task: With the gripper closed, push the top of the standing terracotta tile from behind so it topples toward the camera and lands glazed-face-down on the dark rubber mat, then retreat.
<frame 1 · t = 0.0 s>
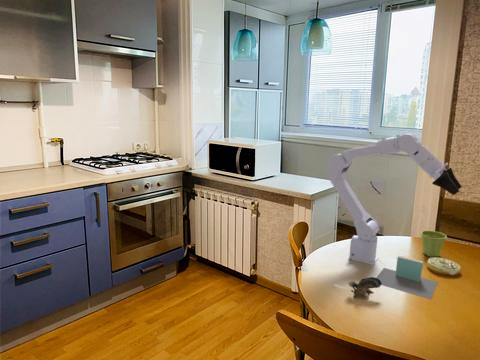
hand: (457, 190, 120), 32 cm above the table, tool tilted 50°, fingers open, 7 cm apart
decorated donut: (442, 271, 134), on the table
tile: (408, 277, 127), resting on mat
plant pot: (431, 254, 149), on the table
mat: (405, 283, 124), on the table
eagle figurine: (363, 296, 116), on the table
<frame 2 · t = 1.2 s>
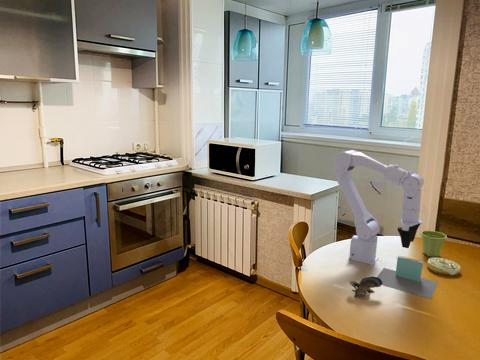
hand: (407, 244, 131), 10 cm above the table, tool pointing down, fingers open, 7 cm apart
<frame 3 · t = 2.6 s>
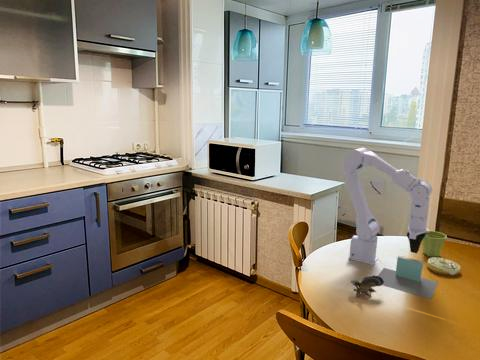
hand: (414, 252, 130), 8 cm above the table, tool pointing down, fingers closed
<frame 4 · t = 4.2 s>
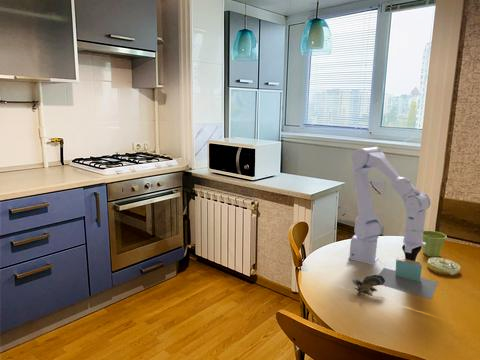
hand: (409, 265, 126), 5 cm above the table, tool pointing down, fingers closed
tile: (408, 277, 127), point 1 cm above the table, tilted 15°, touching mat
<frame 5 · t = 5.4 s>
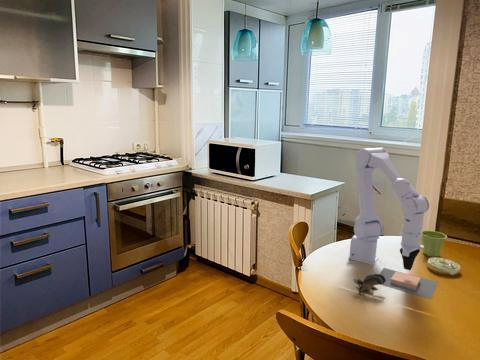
hand: (407, 268, 124), 5 cm above the table, tool pointing down, fingers closed
tile: (407, 276, 126), point 1 cm above the table, tilted 90°, touching mat
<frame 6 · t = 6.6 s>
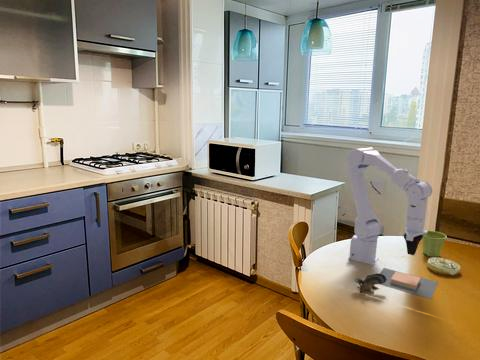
hand: (411, 254, 126), 9 cm above the table, tool pointing down, fingers closed
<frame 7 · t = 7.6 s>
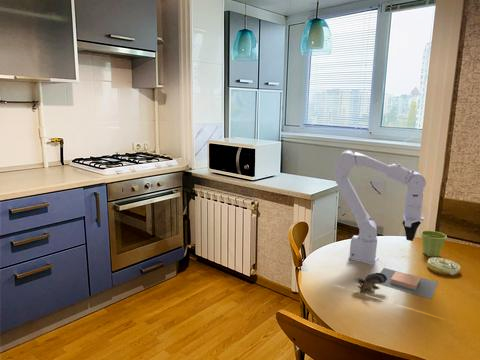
hand: (409, 240, 135), 10 cm above the table, tool pointing down, fingers closed
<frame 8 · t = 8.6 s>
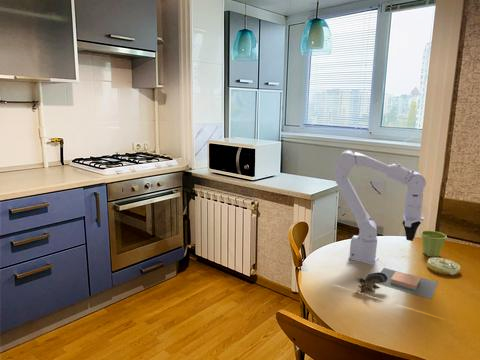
hand: (409, 240, 135), 10 cm above the table, tool pointing down, fingers closed
at the end: tile tilted 90°; tile inside the target area (3.6 cm from its centre), point 1.2 cm above the table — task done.
